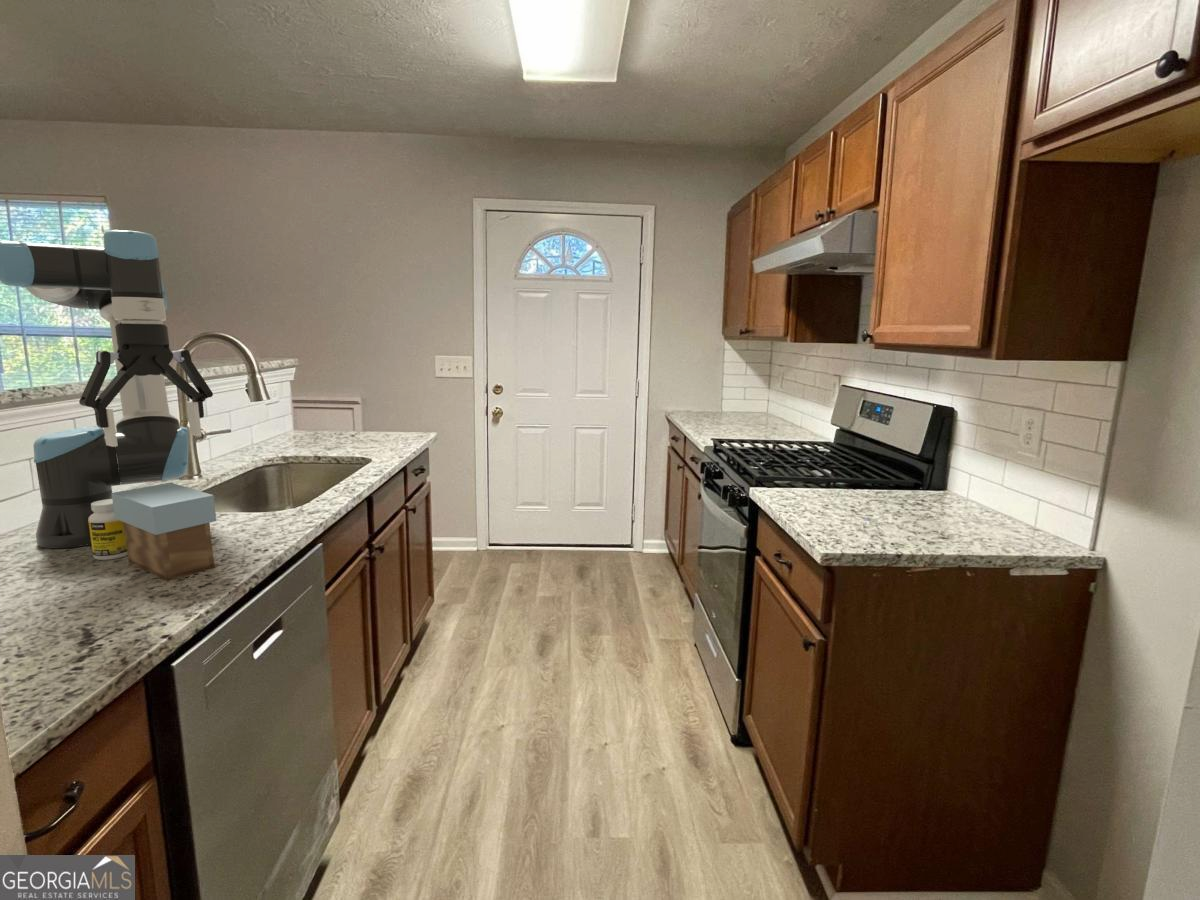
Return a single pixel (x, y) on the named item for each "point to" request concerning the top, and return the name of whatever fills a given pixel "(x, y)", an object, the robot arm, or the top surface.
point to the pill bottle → (106, 532)
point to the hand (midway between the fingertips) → (156, 440)
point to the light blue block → (164, 507)
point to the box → (170, 550)
